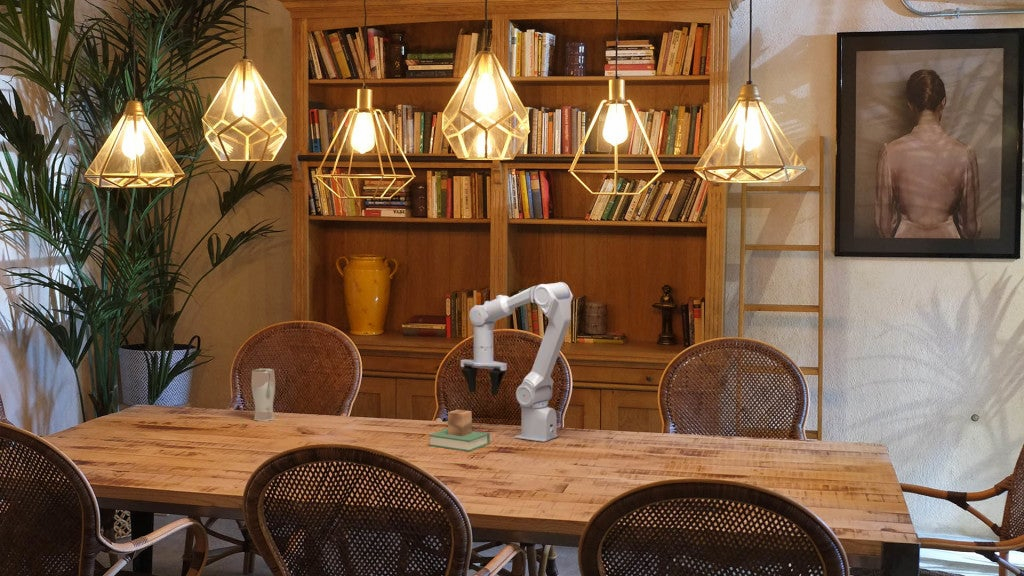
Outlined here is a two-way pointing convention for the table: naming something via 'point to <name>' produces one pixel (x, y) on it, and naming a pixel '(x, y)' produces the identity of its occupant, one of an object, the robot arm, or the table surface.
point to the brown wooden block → (459, 422)
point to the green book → (459, 440)
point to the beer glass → (263, 393)
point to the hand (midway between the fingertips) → (483, 393)
